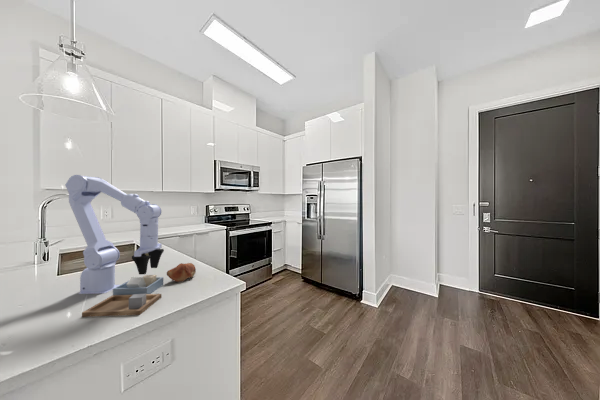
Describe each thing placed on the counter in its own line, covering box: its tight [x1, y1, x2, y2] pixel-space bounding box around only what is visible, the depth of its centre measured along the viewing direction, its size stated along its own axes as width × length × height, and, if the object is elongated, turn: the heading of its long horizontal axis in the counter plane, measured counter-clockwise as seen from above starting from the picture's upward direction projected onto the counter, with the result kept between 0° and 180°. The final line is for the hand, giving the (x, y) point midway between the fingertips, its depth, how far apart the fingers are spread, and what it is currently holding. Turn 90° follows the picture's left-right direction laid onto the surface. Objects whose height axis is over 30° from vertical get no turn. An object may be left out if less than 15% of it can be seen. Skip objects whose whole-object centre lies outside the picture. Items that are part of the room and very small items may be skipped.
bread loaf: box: [166, 262, 197, 283], centre depth 97 cm, size 13×8×10 cm
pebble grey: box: [126, 276, 146, 288], centre depth 82 cm, size 4×3×4 cm
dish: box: [112, 276, 164, 295], centre depth 84 cm, size 11×11×4 cm
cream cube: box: [142, 274, 157, 287], centre depth 86 cm, size 4×3×4 cm
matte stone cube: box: [129, 293, 146, 309], centre depth 70 cm, size 4×3×4 cm
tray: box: [81, 293, 162, 318], centre depth 72 cm, size 16×12×2 cm
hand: (148, 270), depth 86 cm, fingers open, 7 cm apart
